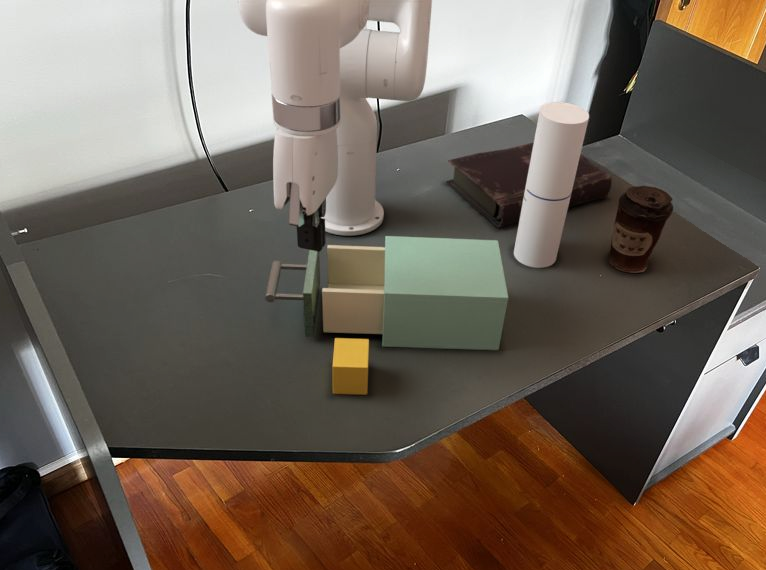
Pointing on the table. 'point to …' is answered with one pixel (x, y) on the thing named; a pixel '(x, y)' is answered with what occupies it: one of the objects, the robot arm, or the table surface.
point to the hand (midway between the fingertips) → (311, 246)
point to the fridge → (443, 293)
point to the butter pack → (350, 366)
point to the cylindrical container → (550, 182)
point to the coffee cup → (638, 227)
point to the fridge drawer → (340, 289)
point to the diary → (515, 182)
